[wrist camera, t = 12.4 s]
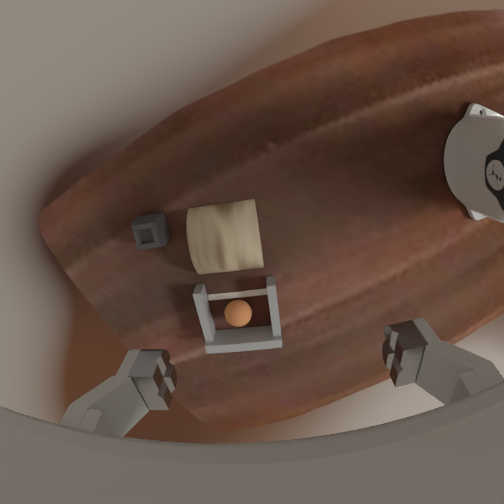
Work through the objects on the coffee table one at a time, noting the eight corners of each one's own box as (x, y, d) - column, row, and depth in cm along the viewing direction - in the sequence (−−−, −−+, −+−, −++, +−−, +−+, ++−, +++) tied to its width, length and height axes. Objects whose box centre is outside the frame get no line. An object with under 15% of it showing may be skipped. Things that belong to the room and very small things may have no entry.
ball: (252, 297, 46) (248, 299, 42) (254, 323, 46) (251, 327, 42) (226, 300, 47) (220, 301, 43) (229, 325, 46) (223, 329, 42)
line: (267, 288, 45) (267, 288, 45) (267, 294, 45) (267, 294, 45) (207, 294, 45) (207, 294, 45) (208, 300, 46) (208, 300, 46)
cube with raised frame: (164, 211, 41) (156, 219, 37) (170, 238, 42) (163, 248, 39) (139, 216, 41) (128, 224, 37) (145, 242, 42) (136, 252, 39)
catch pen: (274, 275, 44) (275, 289, 40) (281, 331, 48) (282, 347, 44) (196, 284, 45) (191, 297, 41) (210, 337, 49) (207, 353, 45)
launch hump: (255, 189, 45) (253, 205, 36) (263, 251, 49) (264, 279, 40) (197, 198, 46) (181, 215, 37) (208, 257, 50) (197, 287, 40)
